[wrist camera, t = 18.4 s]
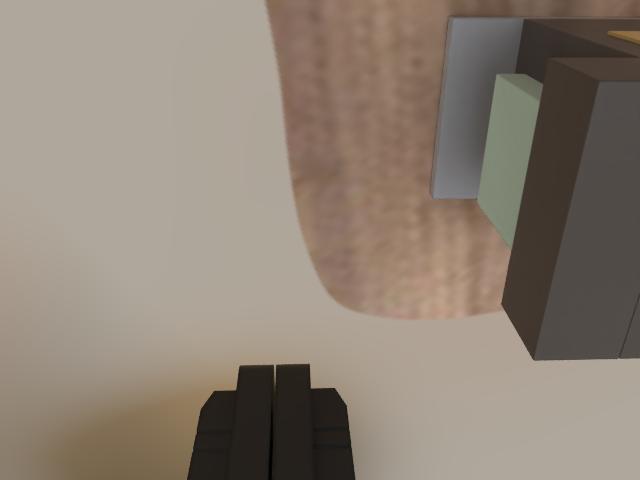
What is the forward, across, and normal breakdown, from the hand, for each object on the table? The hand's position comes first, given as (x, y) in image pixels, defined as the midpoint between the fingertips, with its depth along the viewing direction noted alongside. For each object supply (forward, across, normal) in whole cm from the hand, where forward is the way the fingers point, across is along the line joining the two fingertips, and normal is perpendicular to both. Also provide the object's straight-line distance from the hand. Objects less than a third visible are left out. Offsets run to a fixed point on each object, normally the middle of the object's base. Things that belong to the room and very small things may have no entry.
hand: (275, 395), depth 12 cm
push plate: (+19, -11, +1) cm, 22 cm away
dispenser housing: (+25, -15, 0) cm, 29 cm away
